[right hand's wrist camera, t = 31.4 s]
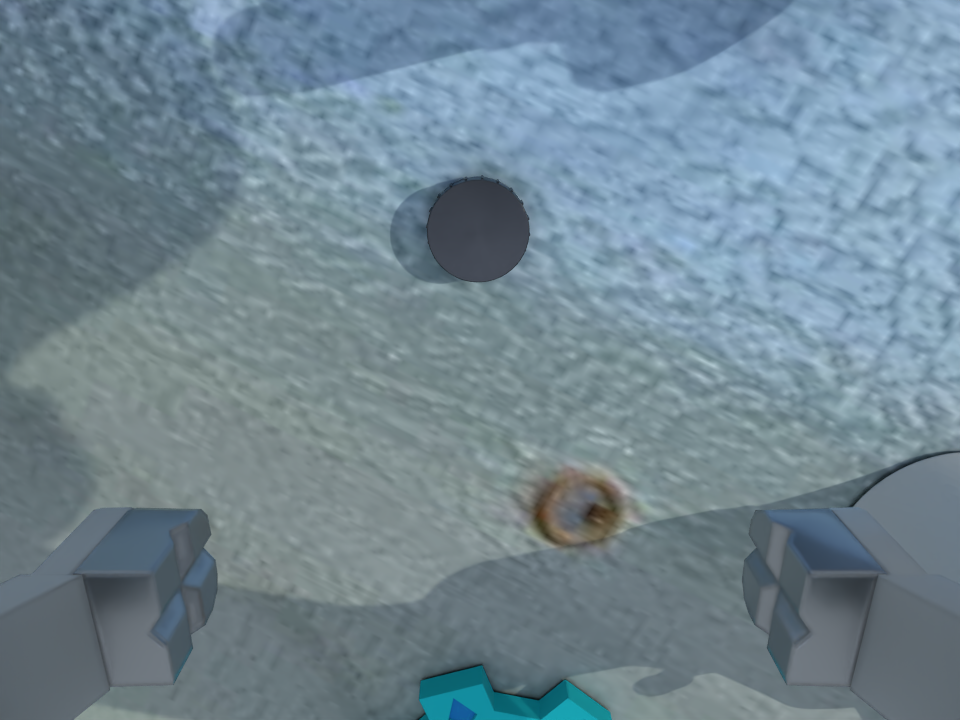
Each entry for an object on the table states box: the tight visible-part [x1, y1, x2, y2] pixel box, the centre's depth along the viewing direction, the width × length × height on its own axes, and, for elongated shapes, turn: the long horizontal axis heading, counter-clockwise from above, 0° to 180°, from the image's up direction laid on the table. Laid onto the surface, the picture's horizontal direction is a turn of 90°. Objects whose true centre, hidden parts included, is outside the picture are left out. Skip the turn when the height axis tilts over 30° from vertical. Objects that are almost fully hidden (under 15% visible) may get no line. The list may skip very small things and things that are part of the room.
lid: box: [426, 175, 530, 282], centre depth 37 cm, size 6×6×2 cm
